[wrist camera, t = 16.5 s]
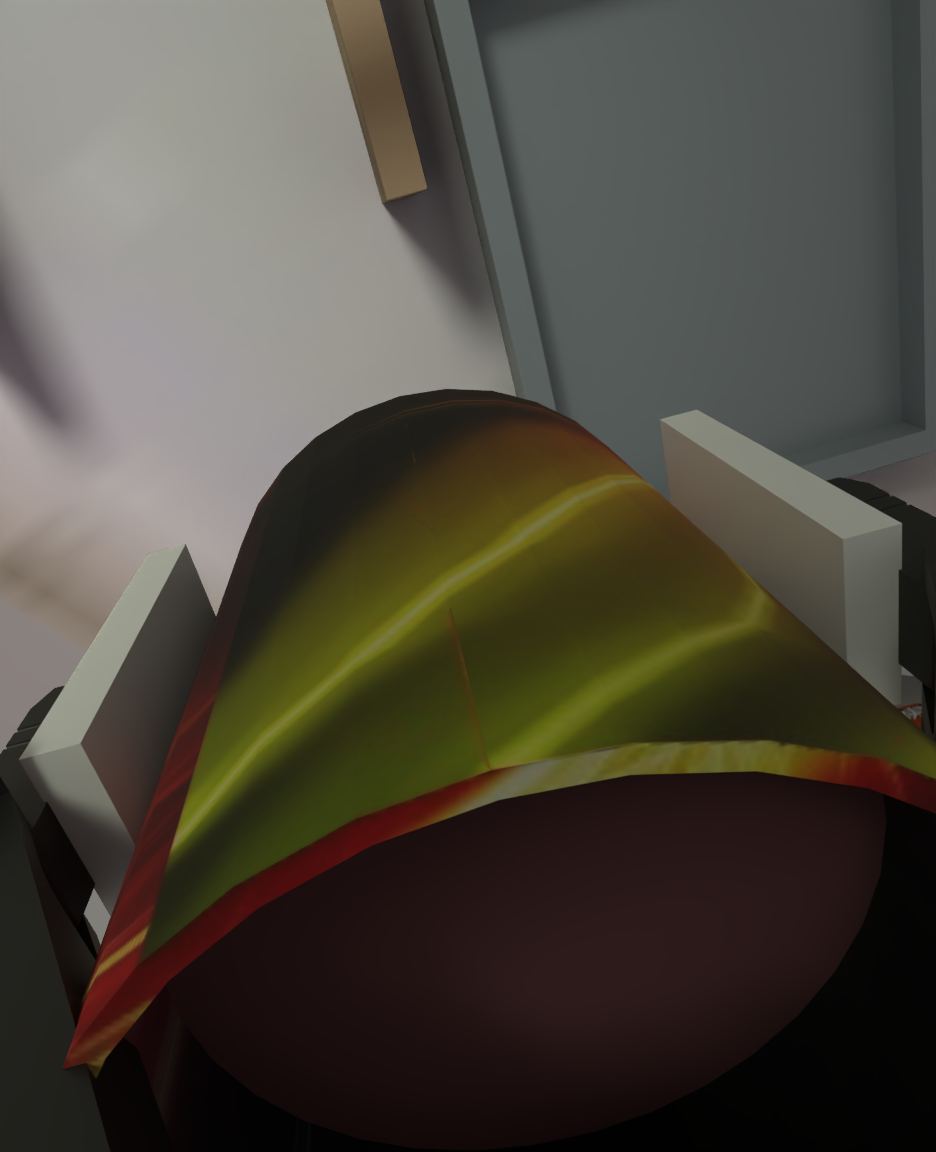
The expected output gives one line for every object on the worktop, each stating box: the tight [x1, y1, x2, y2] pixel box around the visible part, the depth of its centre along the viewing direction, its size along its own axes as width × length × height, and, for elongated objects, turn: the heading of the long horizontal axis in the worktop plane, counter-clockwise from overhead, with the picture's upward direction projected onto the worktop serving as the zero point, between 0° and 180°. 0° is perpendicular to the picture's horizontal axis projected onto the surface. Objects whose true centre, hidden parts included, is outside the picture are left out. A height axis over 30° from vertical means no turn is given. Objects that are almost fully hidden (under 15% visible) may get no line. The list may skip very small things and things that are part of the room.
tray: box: [424, 0, 936, 503], centre depth 28 cm, size 20×16×2 cm
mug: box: [63, 389, 936, 1152], centre depth 13 cm, size 10×14×12 cm
